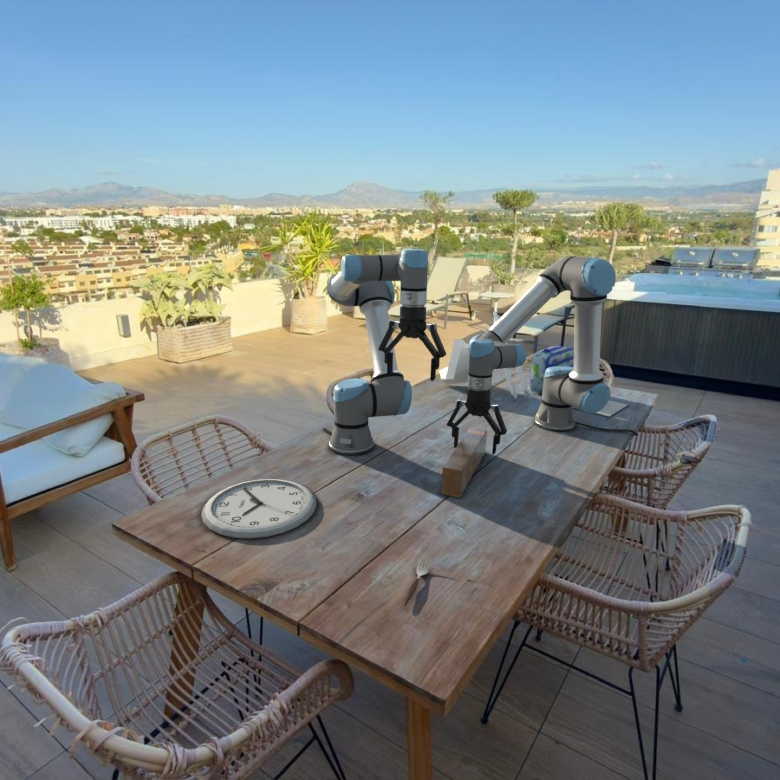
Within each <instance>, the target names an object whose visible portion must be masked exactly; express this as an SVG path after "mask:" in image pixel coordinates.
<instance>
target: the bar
mask: <svg viewBox="0 0 780 780" xmlns="http://www.w3.org/2000/svg"><path fill="white" fill-rule="evenodd" d="M487 435H488V429H487V428H480V427H474V426H470V428H469V429H468V430H467V432H466V433H465V435H464V436H463V437H462V439H461V440H460V442H458V446H457V447H456V448H454V450H453V452H452V453H451V454H450V456H449V458H447V460H446V462H445V463H444V465H443V466H442V473H441V489H440V490H441V492H440V494H441V495H446V496H450V497H455V498H459V499H460V498H461V497H462V495H463V493H464V492H465V490H466V488H467V486H468V485H469V482H470V481H471V478H472V477H473V475H474V473H475V472H476V470H477V469H478V466H479V464H480V462H481V461H482V459H483V458H484V455H485V454H486V447H487Z"/></svg>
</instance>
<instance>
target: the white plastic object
mask: <svg viewBox="0 0 780 780" xmlns="http://www.w3.org/2000/svg"><path fill="white" fill-rule="evenodd" d="M492 315H493V319H494V321H495V323H496V322H497V321H498V320H499V319H500V318H501V317H500V315H499V314H498V312H497V311H496V310H495V311H492ZM506 344H508V341H507V342H506ZM469 353H470V350H469V344H468V343H466V342H465V340H464V339H463V338H460V339H458V338H454V340H453V344H452V349H451V353H450V357H449V362H448V366H446V367H444V368H442V369H440V370H439V369H438V370H439V371H438V372H439V376H440V381H442V383H443V384H444V385H445V386H449V385H458V384H468V374H469ZM522 368H523V367H522V366H519V367H515V369H516V372H517V376H518V380H519V382H520V385H521V389H522V391H523V393H524V395H525V396H526V397H528V396H531V395H530V389H529V388H528V387H529V386H528V384H527V381H526V378H525V375H524V371H523V369H522ZM502 370H503V373H504V376H505V380H506V383H507V386H508V390H509V393H510V394H511V395H512V397H513V398H514V399H515V400H517V392H516V391H517V390H516V388H515V385H514V381H513V378H512V375H511V371H510V368H502ZM493 371H495V369H493Z"/></svg>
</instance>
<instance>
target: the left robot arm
mask: <svg viewBox="0 0 780 780" xmlns="http://www.w3.org/2000/svg"><path fill="white" fill-rule="evenodd" d="M429 263H430V262H429V253H428V251H427V250H426V249H418V248H417V249H414V248H407V249H402V251H401V253H396V254H357V253H353V254H346V255H343V256H342V258H341V261H340V272H337V273H334V274H333V275H332V276H331V277H330V278H329V279H328V280H327V282H326V292H327V295H328V297H329V298H330V299H331V300H332V301H333V302H335V303H336V304H338V305H341V306H344V307H358V309H359V312H360V314H362V315H363V316H364V319H365V324H366V333H367V339H368V346H369V351H370V357H371V363H372V370H373V375H372V376H371V378H370V382H369V381H368V380H367V379H366V378H358V377H356V378H355V377H354V378H348V379H344V380H341V381H339V382H338V383H336V385H335V386H334V388H333V398H332V399H333V421H334V422H333V424H334V425H333V429H332V431H330V430H329V429H328V428H326V427H323V428H322V430H323V431H324V432H325V433H327V434H329V435H331V437H330V438H329V442H328V447H329V449H330V451H332V452H333V453H335V454H339V455H342V456H343V455H344V456H356V455H362V454H367V453H369V452H370V451H372V450H373V448H374V438H373V436H372V431H371V429H370V427H369V418H377V417H378V418H379V417H390V416H391V417H392V416H394V417H396V416H400V415H405V414H407V413H408V412H409V410H410V408H411V405H412V399H413V389H412V383H411V381H409V380H407V379H405V376H404V374H403V373H402V372H401V371H399V368H398V362H397V357H396V349H395V347H396V346H397V345H398V343H400V342H401V340H402V339H403V338H404V337H405V338H406V339H409V338H410V339H411V338H412V339H419V341H420V342H422V343H423V345H424V346H425V348H426V349H427V350H428V352H429V353H430V355H431V356H432V357H431V359H430V378H429V379H430V382H433V381H435V380H436V378H437V370H439V369H440V359H441V358H444V357H446V356H447V351H446V349H445V347H444V344H443V342H442V340H441V337H440V335H439V333H438V326H437V323H435V322H434V323H427V307H426V305H427V301H428V300H427V298H428V273H429ZM393 282H400V288H399V289H400V290H399V291H400V293H399V295H400V296H399V299H400V300H399V303H400V307H399V321H397V320H396V319H392V320H390V316H389V315H390V314H389V311H390V310H391V309H392V305H394V302H395V286H394V283H393ZM397 328H399V330H400V332H399V333H398V334H397V335H396V337H395V338H394V339H393V334H394V331H395V329H397ZM426 330H428V332H429V333H430V336H431V338H432V341H433V343H434V344H433V343H432V341H431V340H430V339H429V336H428V335H427V333H426Z"/></svg>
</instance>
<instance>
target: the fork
mask: <svg viewBox="0 0 780 780" xmlns="http://www.w3.org/2000/svg"><path fill="white" fill-rule="evenodd" d="M423 555H424V554H421V557H420V560H419V563H418V565H417V567H416V574H417V577H416V578H415V580H414V581H413V582H412V584H411V586H410V587H409V590H408V593H407V596H406V599H405V601H404V604H403V606H404V607H406V605H407V604H408V603H409V601H410V599H411V598H412V596H413V595H414V594H415V593H416V590H417V588H418V583H419V580H420V578H421V577H423V576H426V575H427V574H428V573H429V570H430V566H431V563H432V561H431V560H432V558H430V560H429V557H427V558H426V556H424V558H423ZM422 559H423V561H422ZM425 560H426V561H425ZM428 560H429V562H428Z"/></svg>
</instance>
